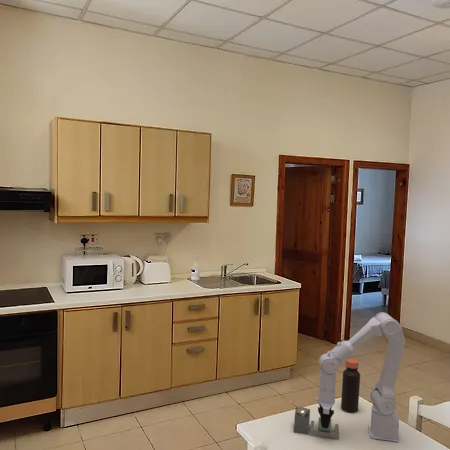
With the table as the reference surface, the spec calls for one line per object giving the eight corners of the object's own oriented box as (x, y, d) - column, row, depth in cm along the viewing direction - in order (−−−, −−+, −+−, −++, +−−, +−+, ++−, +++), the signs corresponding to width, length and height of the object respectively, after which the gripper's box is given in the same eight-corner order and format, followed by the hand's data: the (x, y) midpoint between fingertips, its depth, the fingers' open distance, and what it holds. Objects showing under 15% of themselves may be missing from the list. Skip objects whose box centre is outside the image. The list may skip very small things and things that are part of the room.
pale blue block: (330, 429, 165) (331, 416, 165) (330, 435, 160) (331, 422, 160) (318, 427, 166) (318, 414, 165) (317, 433, 161) (318, 420, 161)
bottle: (349, 414, 177) (352, 365, 176) (337, 407, 183) (340, 359, 181) (361, 411, 180) (364, 362, 179) (349, 403, 186) (352, 357, 185)
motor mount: (338, 428, 166) (339, 410, 165) (338, 439, 158) (339, 420, 158) (295, 422, 169) (295, 404, 168) (293, 433, 161) (294, 414, 161)
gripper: (316, 378, 170) (314, 413, 171) (315, 394, 156) (313, 432, 157) (335, 380, 168) (333, 415, 169) (336, 397, 154) (333, 435, 155)
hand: (324, 424), depth 163 cm, fingers closed on pale blue block, 4 cm apart
